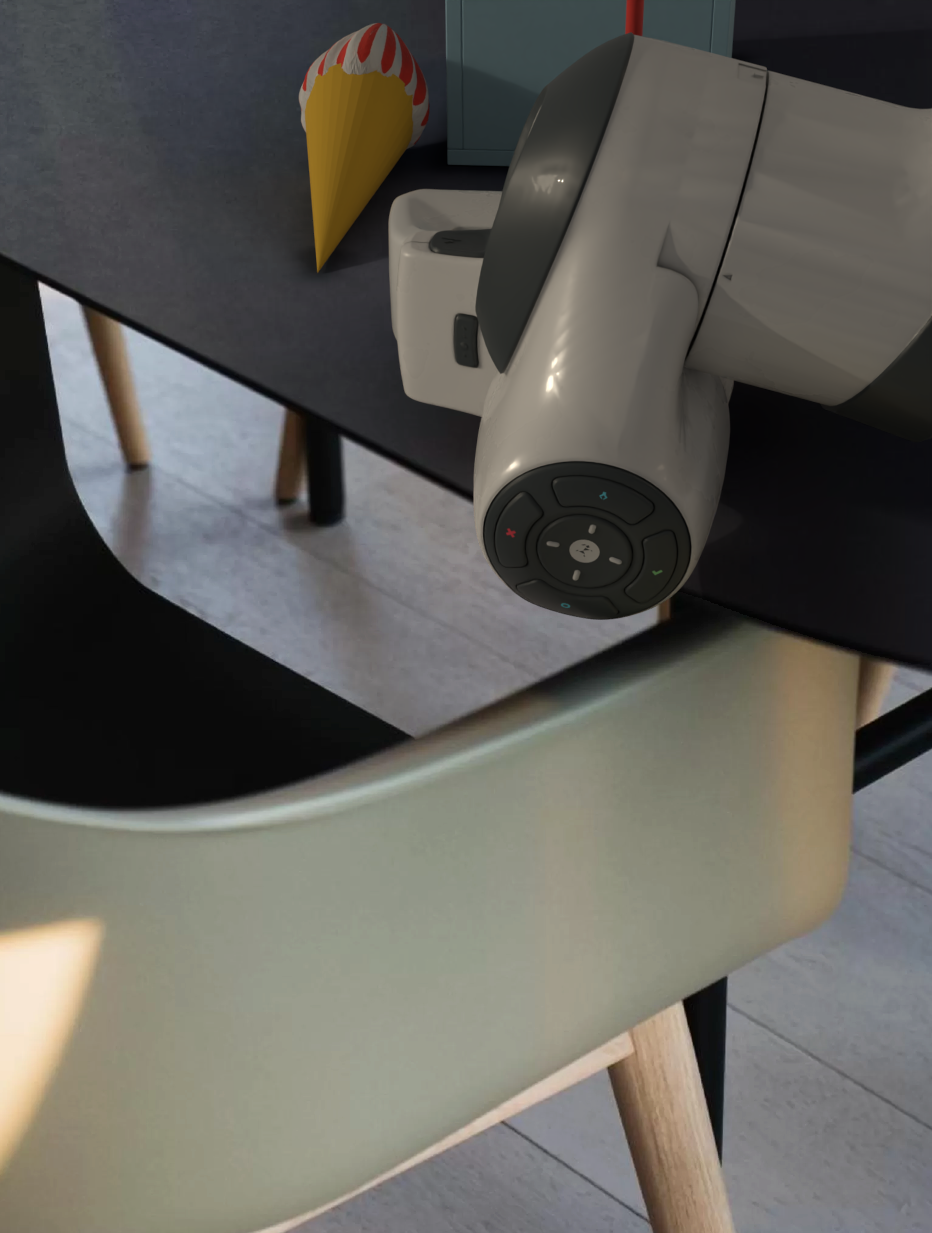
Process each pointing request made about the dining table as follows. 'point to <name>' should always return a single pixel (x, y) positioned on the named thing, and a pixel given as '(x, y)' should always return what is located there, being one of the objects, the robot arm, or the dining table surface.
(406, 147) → the ice cream cone
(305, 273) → the dining table surface
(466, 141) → the bin
